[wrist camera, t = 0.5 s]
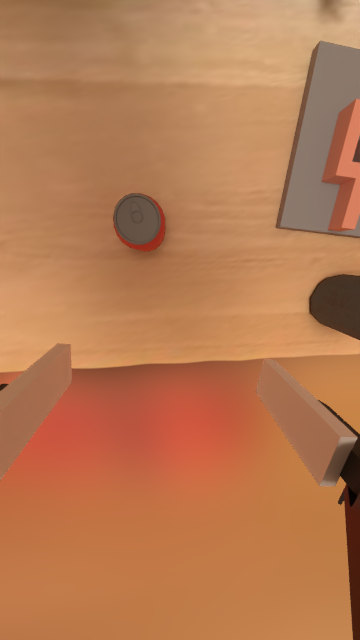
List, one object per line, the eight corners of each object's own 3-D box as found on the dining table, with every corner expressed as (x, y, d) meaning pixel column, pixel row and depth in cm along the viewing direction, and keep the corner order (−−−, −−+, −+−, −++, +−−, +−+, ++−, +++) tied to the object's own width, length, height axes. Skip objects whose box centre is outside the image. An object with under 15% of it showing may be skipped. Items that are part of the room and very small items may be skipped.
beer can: (160, 207, 35) (159, 183, 23) (168, 247, 37) (170, 244, 25) (122, 213, 35) (101, 193, 23) (131, 254, 37) (117, 253, 25)
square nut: (338, 112, 32) (356, 98, 29) (392, 122, 32) (414, 110, 30) (309, 227, 36) (322, 225, 33) (357, 233, 37) (373, 231, 34)
